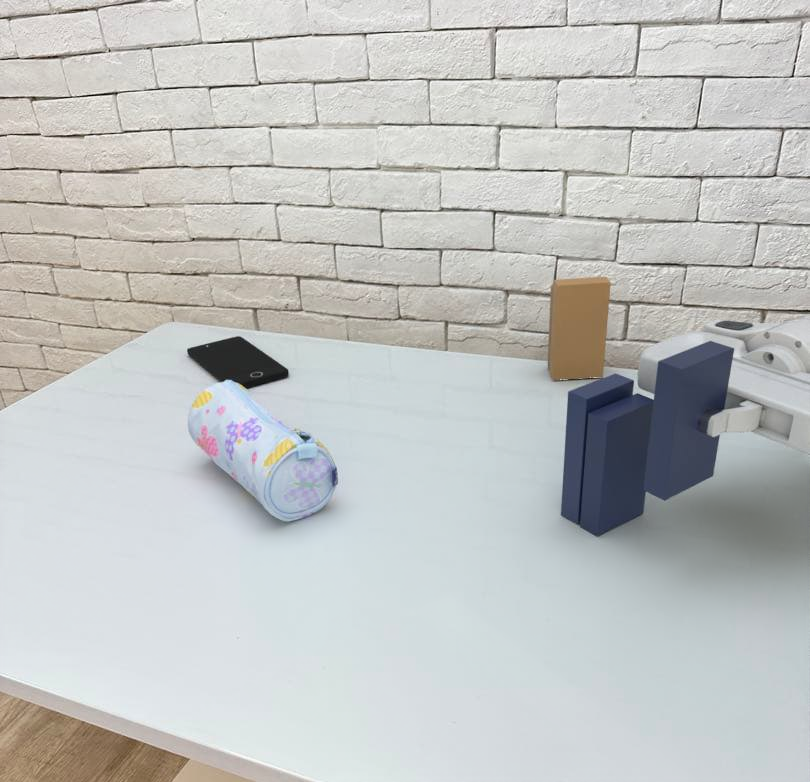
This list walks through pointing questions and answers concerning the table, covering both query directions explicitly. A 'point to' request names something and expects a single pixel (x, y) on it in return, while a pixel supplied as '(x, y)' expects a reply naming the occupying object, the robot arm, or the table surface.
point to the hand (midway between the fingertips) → (686, 418)
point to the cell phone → (237, 362)
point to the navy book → (685, 418)
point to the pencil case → (262, 451)
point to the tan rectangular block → (578, 327)
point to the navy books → (605, 454)
